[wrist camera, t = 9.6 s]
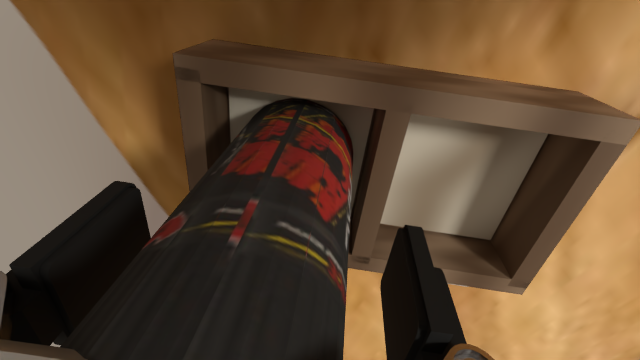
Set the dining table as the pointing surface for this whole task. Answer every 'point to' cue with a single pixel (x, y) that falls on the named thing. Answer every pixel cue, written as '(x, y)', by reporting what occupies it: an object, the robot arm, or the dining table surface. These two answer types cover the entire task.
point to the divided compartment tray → (422, 152)
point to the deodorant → (243, 254)
